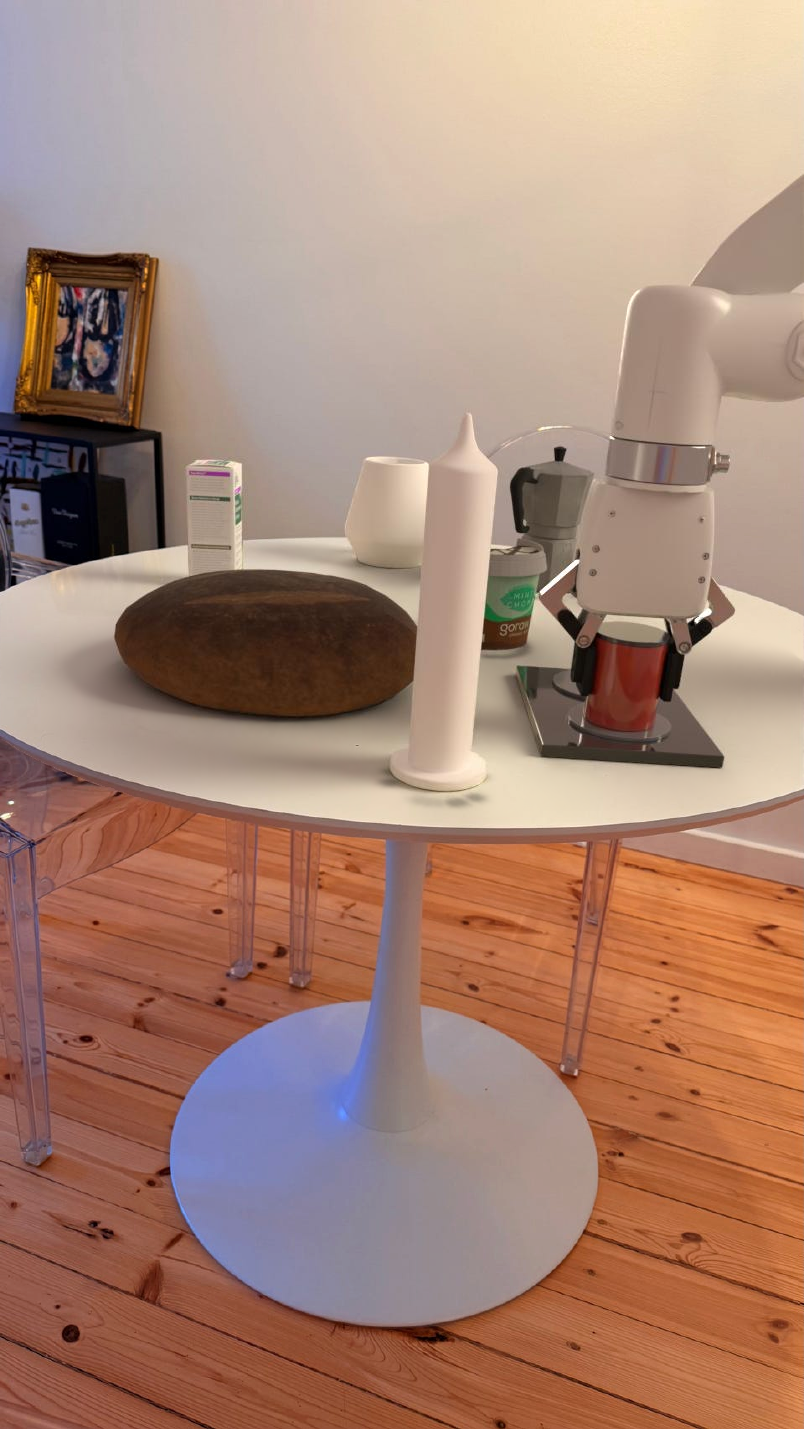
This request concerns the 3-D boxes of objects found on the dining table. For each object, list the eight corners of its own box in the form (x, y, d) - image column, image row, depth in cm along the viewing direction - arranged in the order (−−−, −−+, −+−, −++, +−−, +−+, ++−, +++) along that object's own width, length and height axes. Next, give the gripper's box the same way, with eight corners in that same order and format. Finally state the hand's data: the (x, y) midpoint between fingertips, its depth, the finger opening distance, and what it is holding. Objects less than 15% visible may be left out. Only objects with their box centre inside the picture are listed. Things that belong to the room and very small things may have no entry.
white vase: (338, 567, 134) (343, 462, 129) (347, 548, 147) (351, 452, 142) (437, 574, 134) (445, 469, 129) (437, 555, 146) (445, 458, 142)
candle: (380, 784, 69) (403, 411, 60) (399, 747, 76) (422, 406, 67) (481, 797, 68) (519, 420, 59) (491, 759, 75) (526, 414, 66)
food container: (499, 661, 98) (509, 561, 95) (448, 647, 102) (456, 550, 98) (559, 638, 108) (570, 547, 104) (510, 626, 111) (520, 537, 108)
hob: (661, 684, 95) (663, 671, 94) (722, 768, 76) (725, 752, 75) (515, 675, 94) (516, 662, 94) (540, 756, 76) (542, 740, 75)
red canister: (646, 708, 84) (660, 624, 81) (663, 734, 78) (678, 644, 76) (576, 703, 84) (587, 619, 81) (588, 729, 78) (600, 639, 76)
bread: (103, 632, 99) (99, 545, 96) (361, 622, 108) (365, 543, 105) (137, 737, 74) (133, 624, 71) (468, 712, 84) (477, 612, 81)
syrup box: (236, 590, 119) (236, 466, 113) (186, 587, 118) (185, 463, 113) (243, 579, 124) (244, 461, 119) (196, 576, 124) (194, 457, 119)
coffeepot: (547, 573, 139) (562, 441, 133) (602, 587, 133) (621, 449, 127) (473, 585, 129) (486, 443, 123) (529, 601, 123) (546, 452, 117)
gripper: (755, 468, 78) (714, 685, 84) (536, 453, 77) (512, 672, 84) (789, 480, 71) (742, 717, 77) (548, 463, 70) (521, 702, 77)
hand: (622, 691), depth 80 cm, fingers closed on red canister, 5 cm apart
